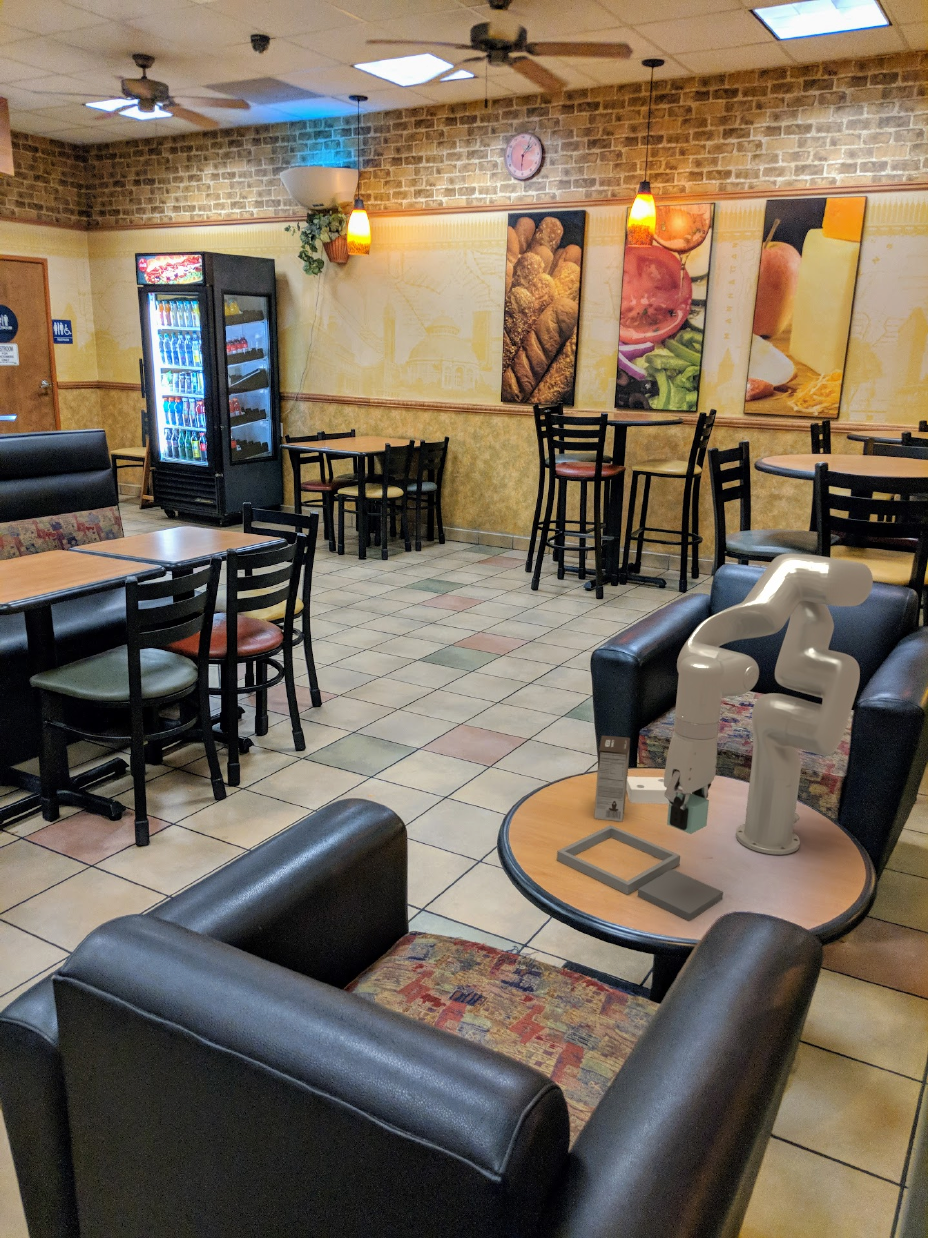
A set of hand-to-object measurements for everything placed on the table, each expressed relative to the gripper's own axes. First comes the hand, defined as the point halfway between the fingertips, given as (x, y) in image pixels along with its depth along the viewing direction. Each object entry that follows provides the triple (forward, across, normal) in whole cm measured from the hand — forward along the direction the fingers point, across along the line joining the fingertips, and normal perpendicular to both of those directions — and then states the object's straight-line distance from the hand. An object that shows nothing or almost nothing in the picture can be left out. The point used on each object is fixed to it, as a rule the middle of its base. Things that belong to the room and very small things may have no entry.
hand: (687, 821), depth 169 cm
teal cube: (+1, 0, 0) cm, 1 cm away
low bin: (+15, -2, -16) cm, 22 cm away
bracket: (+16, -33, -28) cm, 46 cm away
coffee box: (+16, -19, -30) cm, 39 cm away
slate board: (+15, 0, 0) cm, 15 cm away
